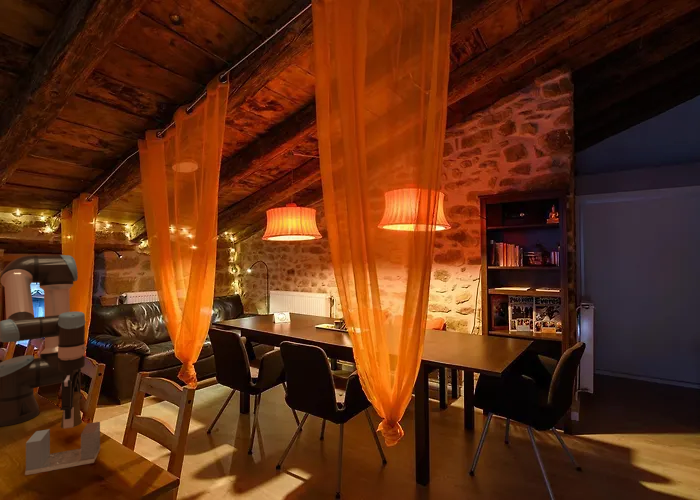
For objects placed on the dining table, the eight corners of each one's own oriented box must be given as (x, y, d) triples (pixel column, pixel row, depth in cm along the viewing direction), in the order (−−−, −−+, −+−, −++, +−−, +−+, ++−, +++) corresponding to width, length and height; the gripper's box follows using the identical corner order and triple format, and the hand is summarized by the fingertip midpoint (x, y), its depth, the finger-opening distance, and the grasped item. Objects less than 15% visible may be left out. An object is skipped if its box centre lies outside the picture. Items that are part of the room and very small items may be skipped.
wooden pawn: (85, 423, 134) (85, 391, 134) (65, 430, 129) (65, 397, 128) (76, 418, 137) (77, 388, 137) (57, 425, 132) (57, 393, 131)
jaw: (36, 456, 119) (36, 431, 119) (49, 454, 120) (49, 429, 120) (25, 470, 112) (25, 442, 112) (40, 467, 113) (40, 440, 113)
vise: (36, 459, 119) (36, 430, 120) (100, 448, 126) (100, 421, 126) (25, 475, 111) (25, 443, 111) (94, 462, 118) (94, 432, 118)
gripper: (77, 363, 125) (76, 433, 125) (91, 348, 143) (90, 410, 143) (49, 366, 122) (48, 437, 122) (66, 350, 140) (66, 413, 140)
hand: (71, 422), depth 133 cm, fingers closed on wooden pawn, 6 cm apart
